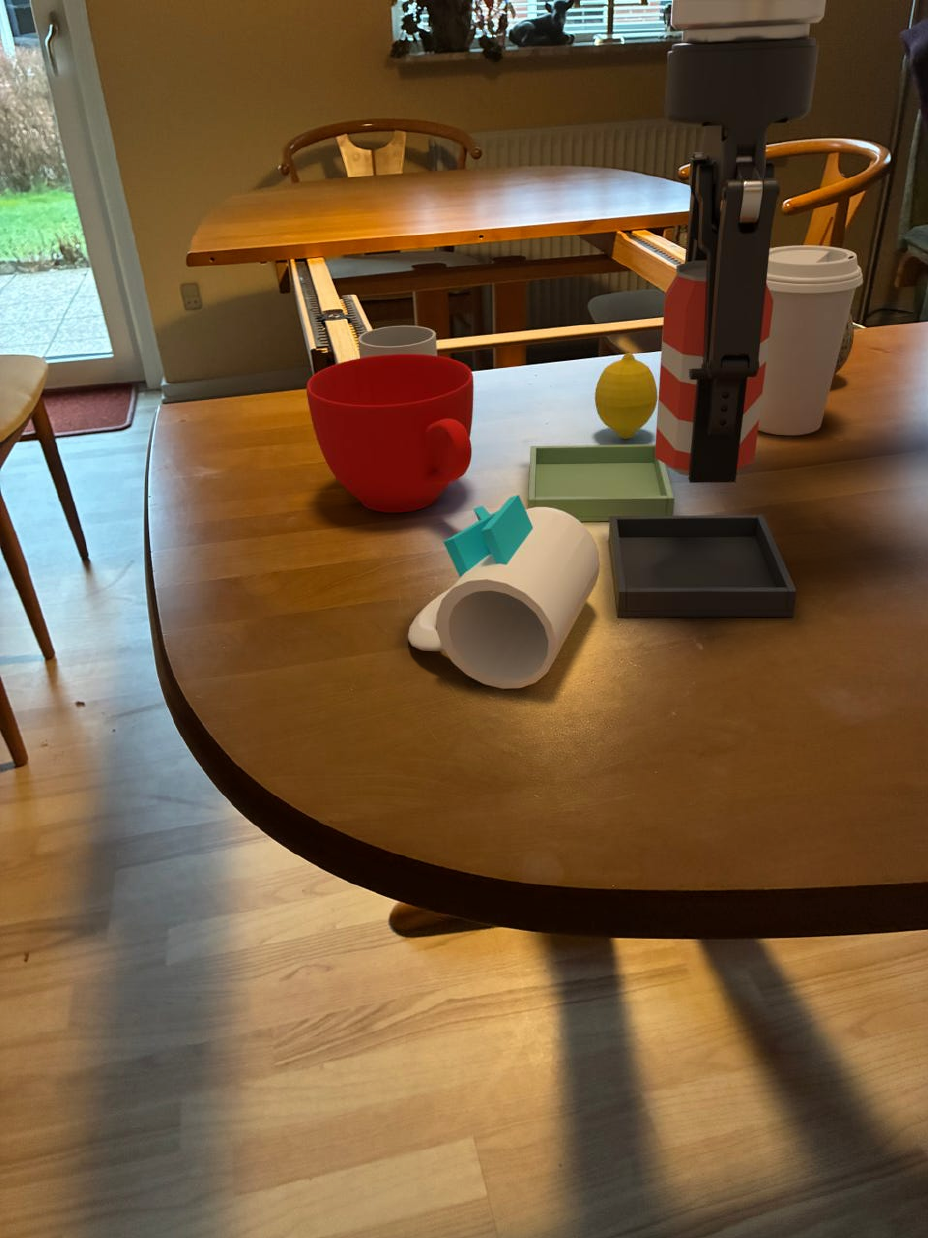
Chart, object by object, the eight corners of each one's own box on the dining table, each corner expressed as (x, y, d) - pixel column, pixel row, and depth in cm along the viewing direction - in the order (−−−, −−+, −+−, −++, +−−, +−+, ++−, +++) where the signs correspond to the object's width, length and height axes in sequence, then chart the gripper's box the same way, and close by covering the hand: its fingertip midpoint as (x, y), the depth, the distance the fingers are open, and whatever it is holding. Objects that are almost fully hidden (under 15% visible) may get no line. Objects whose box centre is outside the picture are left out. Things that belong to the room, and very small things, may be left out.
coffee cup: (794, 450, 83) (820, 271, 75) (710, 422, 90) (725, 255, 82) (860, 423, 88) (891, 252, 80) (775, 398, 94) (796, 239, 86)
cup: (446, 415, 95) (441, 325, 90) (430, 453, 86) (423, 356, 82) (376, 415, 96) (367, 325, 91) (353, 453, 87) (342, 356, 83)
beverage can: (654, 482, 59) (667, 281, 52) (655, 443, 64) (666, 257, 58) (755, 484, 58) (781, 280, 51) (748, 445, 63) (770, 256, 57)
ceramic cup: (395, 567, 68) (382, 434, 63) (296, 491, 80) (278, 375, 75) (538, 517, 74) (538, 392, 69) (426, 453, 86) (418, 343, 81)
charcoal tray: (760, 537, 69) (763, 514, 68) (792, 617, 60) (797, 591, 59) (608, 539, 70) (609, 515, 69) (617, 617, 61) (618, 591, 60)
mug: (574, 450, 59) (510, 534, 49) (626, 576, 62) (575, 677, 53) (421, 499, 65) (338, 582, 56) (475, 612, 68) (406, 708, 59)
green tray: (658, 464, 82) (659, 443, 81) (672, 520, 72) (674, 497, 71) (530, 466, 83) (530, 445, 82) (528, 521, 73) (528, 499, 72)
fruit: (630, 422, 91) (634, 338, 86) (667, 440, 86) (673, 352, 82) (582, 434, 88) (583, 349, 84) (617, 453, 84) (621, 364, 80)
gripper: (651, 37, 57) (633, 407, 69) (693, 40, 41) (659, 525, 53) (779, 30, 56) (738, 405, 68) (874, 31, 40) (797, 524, 52)
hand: (703, 457), depth 61 cm, fingers closed on beverage can, 6 cm apart
